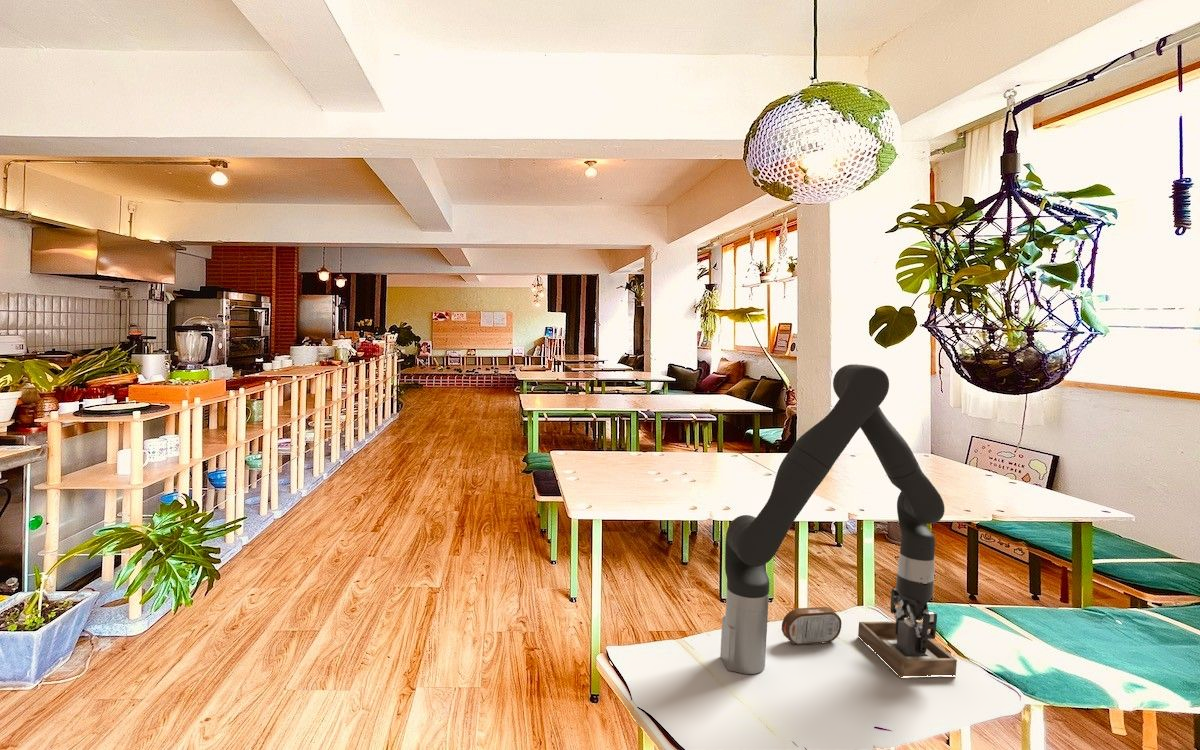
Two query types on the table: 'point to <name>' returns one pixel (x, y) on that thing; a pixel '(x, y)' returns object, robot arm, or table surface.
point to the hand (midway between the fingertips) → (910, 643)
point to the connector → (907, 638)
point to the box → (885, 646)
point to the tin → (811, 625)
